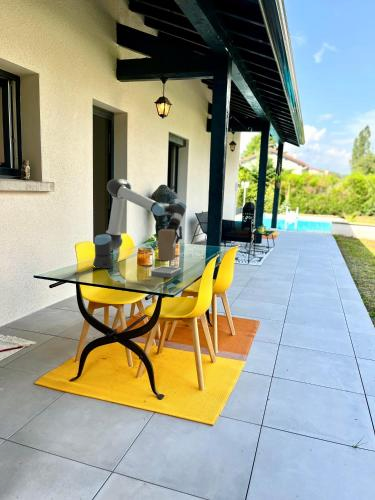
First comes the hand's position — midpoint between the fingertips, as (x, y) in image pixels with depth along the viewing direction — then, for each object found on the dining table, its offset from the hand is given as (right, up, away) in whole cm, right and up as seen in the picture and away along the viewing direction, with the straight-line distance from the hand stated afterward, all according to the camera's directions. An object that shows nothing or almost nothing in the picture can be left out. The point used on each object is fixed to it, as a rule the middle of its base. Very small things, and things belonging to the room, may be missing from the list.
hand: (165, 246), depth 251 cm
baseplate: (0, -19, +6) cm, 20 cm away
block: (+1, -9, +4) cm, 10 cm away
